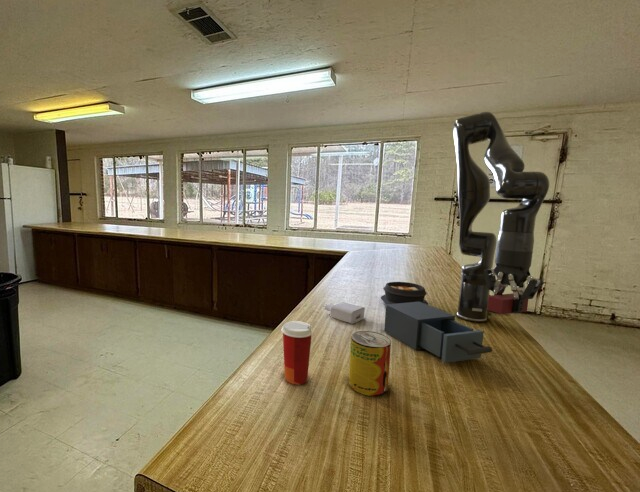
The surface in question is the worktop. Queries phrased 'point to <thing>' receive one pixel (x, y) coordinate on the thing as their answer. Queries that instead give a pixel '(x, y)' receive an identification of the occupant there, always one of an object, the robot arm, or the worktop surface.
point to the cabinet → (410, 320)
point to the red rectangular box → (503, 303)
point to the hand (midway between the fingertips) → (506, 309)
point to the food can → (369, 363)
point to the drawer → (451, 340)
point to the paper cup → (296, 351)
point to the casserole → (403, 293)
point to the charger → (346, 312)
